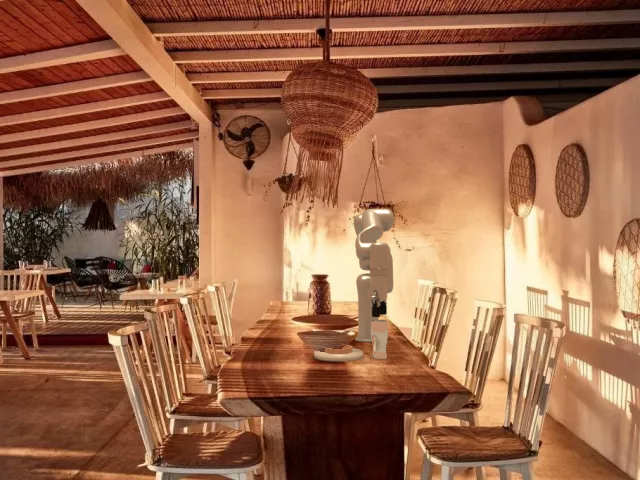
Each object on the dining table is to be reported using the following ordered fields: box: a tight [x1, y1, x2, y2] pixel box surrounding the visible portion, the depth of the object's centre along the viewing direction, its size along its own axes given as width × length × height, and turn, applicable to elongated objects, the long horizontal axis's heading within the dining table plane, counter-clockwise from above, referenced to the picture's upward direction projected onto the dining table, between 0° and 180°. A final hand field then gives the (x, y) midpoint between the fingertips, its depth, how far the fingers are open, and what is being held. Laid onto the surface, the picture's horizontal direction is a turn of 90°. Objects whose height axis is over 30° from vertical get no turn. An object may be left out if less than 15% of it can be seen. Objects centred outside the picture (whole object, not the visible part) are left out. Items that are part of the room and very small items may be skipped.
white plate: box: [313, 344, 364, 362], centre depth 246 cm, size 20×20×4 cm
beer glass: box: [371, 319, 389, 360], centre depth 244 cm, size 7×7×15 cm
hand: (379, 315), depth 243 cm, fingers open, 9 cm apart
